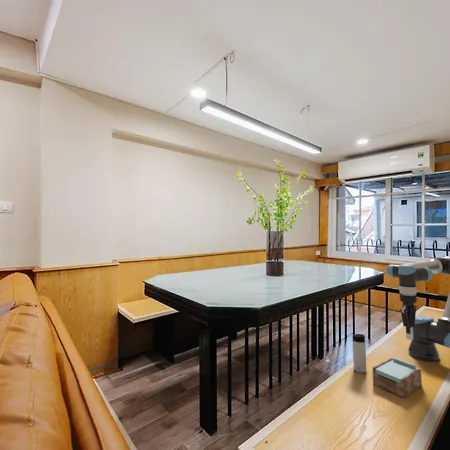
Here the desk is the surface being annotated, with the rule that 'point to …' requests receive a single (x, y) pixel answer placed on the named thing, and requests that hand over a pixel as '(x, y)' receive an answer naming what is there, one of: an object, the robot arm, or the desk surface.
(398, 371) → the cover plate
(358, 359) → the travel mug
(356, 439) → the desk surface
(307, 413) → the desk surface
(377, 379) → the box
